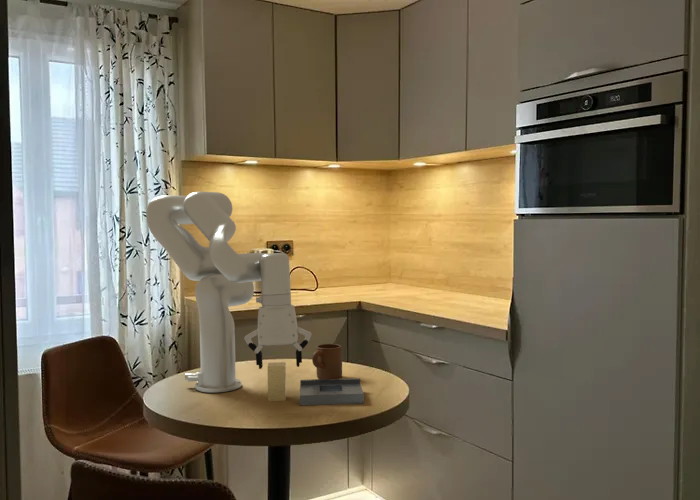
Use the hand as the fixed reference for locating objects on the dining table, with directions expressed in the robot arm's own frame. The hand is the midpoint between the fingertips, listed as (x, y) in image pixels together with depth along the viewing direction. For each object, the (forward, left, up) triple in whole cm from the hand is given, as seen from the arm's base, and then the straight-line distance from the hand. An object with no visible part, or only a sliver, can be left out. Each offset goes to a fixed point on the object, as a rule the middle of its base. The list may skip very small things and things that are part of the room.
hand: (279, 366), depth 162 cm
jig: (+13, 0, -8) cm, 16 cm away
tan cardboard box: (-1, +1, -8) cm, 8 cm away
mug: (+12, +20, -9) cm, 25 cm away
